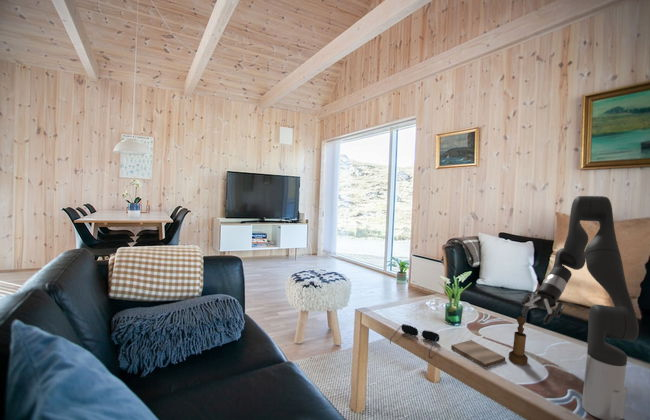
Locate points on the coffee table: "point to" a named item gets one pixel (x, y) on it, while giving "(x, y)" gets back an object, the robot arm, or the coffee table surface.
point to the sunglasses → (413, 331)
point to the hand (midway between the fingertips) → (533, 318)
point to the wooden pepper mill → (519, 344)
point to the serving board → (478, 353)
